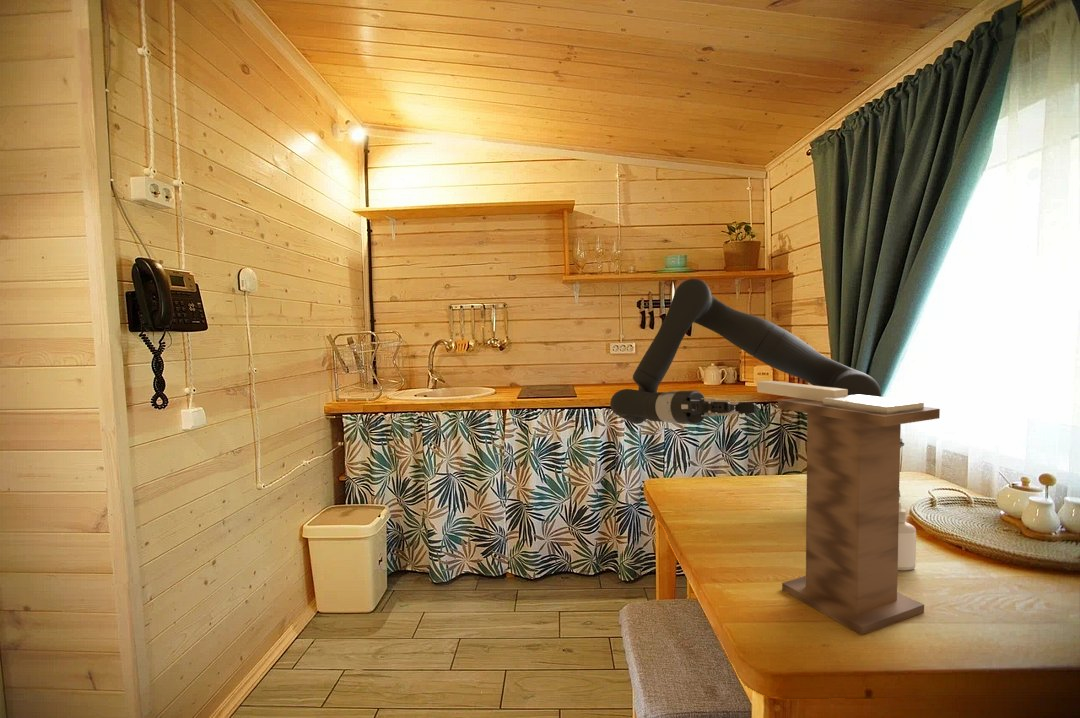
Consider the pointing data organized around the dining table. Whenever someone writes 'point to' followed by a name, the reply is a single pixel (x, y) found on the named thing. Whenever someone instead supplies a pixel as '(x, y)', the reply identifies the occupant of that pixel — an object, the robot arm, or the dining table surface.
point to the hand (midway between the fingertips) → (742, 407)
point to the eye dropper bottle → (906, 543)
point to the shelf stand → (853, 514)
